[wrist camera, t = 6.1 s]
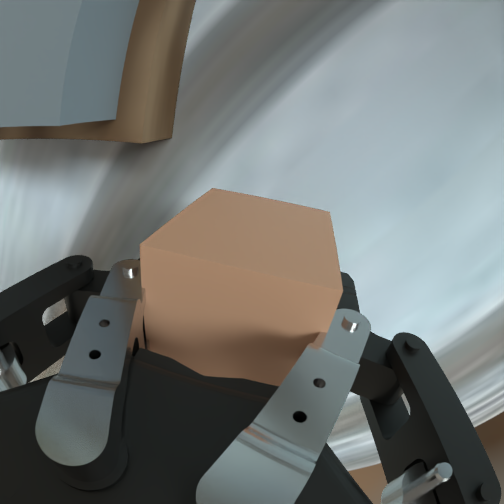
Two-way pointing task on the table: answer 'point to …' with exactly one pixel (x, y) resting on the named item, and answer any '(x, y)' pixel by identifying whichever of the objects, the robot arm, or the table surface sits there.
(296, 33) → the table surface
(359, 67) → the table surface
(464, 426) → the robot arm
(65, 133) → the walnut slab
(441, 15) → the table surface
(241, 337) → the terracotta block
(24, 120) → the slate top slab
